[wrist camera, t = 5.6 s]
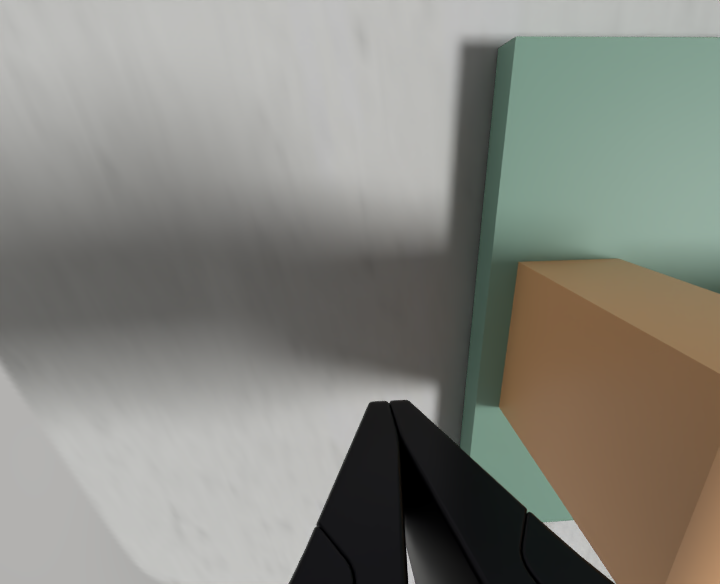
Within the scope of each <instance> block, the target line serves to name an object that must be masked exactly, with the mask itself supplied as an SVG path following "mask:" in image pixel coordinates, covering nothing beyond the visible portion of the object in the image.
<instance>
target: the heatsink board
mask: <svg viewBox="0 0 720 584" xmlns="http://www.w3.org/2000/svg"><path fill="white" fill-rule="evenodd" d="M588 259H621V260H624V261H627V262H630V263H633V264H636V265H638V266H641V267H644V268H647V269H650V270H653V271H656V272H659V273H661V274H664V275H667V276H670V277H673V278H676V279H679V280H681V281H684V282H687V283H690V284H693V285H696V286H699V287H701V288H704V289H707V290H710V291H713V292H716V293H719V294H720V37H515V38H513V39H512V40H510V41H509V42H507V43H506V44H504V45H503V46H501V47H500V48H498V56H497V66H496V77H495V87H494V98H493V108H492V118H491V129H490V139H489V149H488V160H487V170H486V181H485V191H484V201H483V212H482V222H481V232H480V243H479V253H478V264H477V274H476V284H475V295H474V305H473V315H472V326H471V336H470V347H469V357H468V367H467V378H466V388H465V398H464V409H463V419H462V430H461V440H460V448H461V449H462V450H463V451H465V452H466V453H467V454H468V455H469V456H470V457H471V458H472V459H473V460H474V461H475V462H477V463H478V464H479V465H480V466H481V467H482V468H483V469H484V470H485V471H486V472H488V473H489V474H490V475H491V476H492V477H493V478H494V479H495V480H496V481H497V482H498V483H500V484H501V485H502V486H503V487H504V488H505V489H506V490H507V491H508V492H509V493H510V494H512V495H513V496H514V497H515V498H516V499H517V500H518V501H519V502H520V503H521V504H523V505H524V506H525V507H526V508H527V513H528V512H531V513H533V514H534V515H535V516H536V517H537V518H538V519H539V520H540V521H541V522H554V521H568V520H574V519H573V518H572V516H571V515H570V513H569V512H568V510H567V509H566V507H565V506H564V504H563V503H562V501H561V500H560V498H559V497H558V495H557V494H556V492H555V491H554V489H553V488H552V486H551V485H550V483H549V482H548V480H547V479H546V477H545V476H544V474H543V473H542V471H541V470H540V468H539V467H538V465H537V464H536V462H535V461H534V459H533V458H532V456H531V455H530V453H529V452H528V450H527V449H526V447H525V446H524V444H523V443H522V441H521V440H520V438H519V437H518V435H517V434H516V432H515V431H514V429H513V428H512V426H511V425H510V423H509V422H508V420H507V419H506V417H505V416H504V414H503V413H502V411H501V410H500V408H499V402H500V395H501V388H502V380H503V373H504V365H505V358H506V351H507V343H508V336H509V328H510V321H511V314H512V306H513V299H514V291H515V284H516V277H517V269H518V262H527V261H558V260H588Z"/></svg>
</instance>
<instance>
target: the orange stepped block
mask: <svg viewBox="0 0 720 584" xmlns="http://www.w3.org/2000/svg"><path fill="white" fill-rule="evenodd" d="M499 408H500V410H501V411H502V413H503V414H504V416H505V417H506V419H507V420H508V422H509V423H510V425H511V426H512V428H513V429H514V431H515V432H516V434H517V435H518V437H519V438H520V440H521V441H522V443H523V444H524V446H525V447H526V449H527V450H528V452H529V453H530V455H531V456H532V458H533V459H534V461H535V462H536V464H537V465H538V467H539V468H540V470H541V471H542V473H543V474H544V476H545V477H546V479H547V480H548V482H549V483H550V485H551V486H552V488H553V489H554V491H555V492H556V494H557V495H558V497H559V498H560V500H561V501H562V503H563V504H564V506H565V507H566V509H567V510H568V512H569V513H570V515H571V516H572V518H573V519H574V521H575V522H576V524H577V525H578V527H579V528H580V530H581V531H582V533H583V534H584V536H585V537H586V539H587V540H588V542H589V543H590V545H591V546H592V548H593V549H594V551H595V552H596V554H597V555H598V557H599V558H600V560H601V561H602V563H603V564H604V566H605V567H606V569H607V570H608V572H609V573H610V575H611V576H612V578H613V579H614V581H615V582H616V584H720V294H719V293H716V292H713V291H710V290H707V289H704V288H701V287H699V286H696V285H693V284H690V283H687V282H684V281H681V280H679V279H676V278H673V277H670V276H667V275H664V274H661V273H659V272H656V271H653V270H650V269H647V268H644V267H641V266H638V265H636V264H633V263H630V262H627V261H624V260H621V259H588V260H558V261H527V262H518V269H517V277H516V284H515V291H514V299H513V306H512V314H511V321H510V328H509V336H508V343H507V351H506V358H505V365H504V373H503V380H502V388H501V395H500V402H499Z"/></svg>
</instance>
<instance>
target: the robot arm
mask: <svg viewBox="0 0 720 584" xmlns="http://www.w3.org/2000/svg"><path fill="white" fill-rule="evenodd" d="M406 547H407V551H408V555H409V559H410V563H411V567H412V571H413V576H414V580H415V584H614V583H613V582H612V581H611V580H610V579H608V578H607V577H606V576H605V575H603V574H602V573H601V572H600V571H598V570H597V569H596V568H595V567H593V566H592V565H591V564H590V563H589V562H587V561H586V560H585V559H584V558H582V557H581V556H580V555H579V554H578V553H577V552H575V551H574V550H573V549H572V548H571V547H570V546H569V545H567V544H566V543H565V542H564V541H563V540H562V539H561V538H559V537H558V536H557V535H556V534H555V533H554V532H552V531H551V530H550V529H549V528H548V527H547V526H546V525H545V524H544V523H543V522H541V521H540V520H539V519H538V518H537V517H536V516H535V515H534V514H533V513H531V512H528V513H527V508H526V507H525V506H524V505H523V504H521V503H520V502H519V501H518V500H517V499H516V498H515V497H514V496H513V495H512V494H510V493H509V492H508V491H507V490H506V489H505V488H504V487H503V486H502V485H501V484H500V483H498V482H497V481H496V480H495V479H494V478H493V477H492V476H491V475H490V474H489V473H488V472H486V471H485V470H484V469H483V468H482V467H481V466H480V465H479V464H478V463H477V462H475V461H474V460H473V459H472V458H471V457H470V456H469V455H468V454H467V453H466V452H465V451H463V450H462V449H461V448H460V447H459V446H458V445H457V444H456V443H455V442H454V441H452V440H451V439H450V438H449V437H448V436H447V435H446V434H445V433H444V432H443V431H442V430H440V429H439V428H438V427H437V426H436V425H435V424H434V423H433V422H432V421H431V420H429V419H428V418H427V417H426V416H425V415H424V414H423V413H422V412H421V411H420V410H419V409H417V408H416V407H415V406H414V405H413V404H412V403H411V402H410V401H408V400H395V401H390V403H388V402H387V401H375V402H370V403H369V404H368V407H367V409H366V411H365V413H364V416H363V418H362V420H361V423H360V425H359V427H358V430H357V432H356V434H355V437H354V439H353V441H352V443H351V446H350V448H349V450H348V453H347V455H346V457H345V460H344V462H343V464H342V466H341V469H340V471H339V473H338V476H337V478H336V480H335V483H334V485H333V487H332V490H331V492H330V494H329V496H328V499H327V501H326V503H325V506H324V508H323V510H322V513H321V515H320V517H319V519H318V522H317V527H315V528H314V530H313V533H312V535H311V537H310V540H309V542H308V544H307V546H306V549H305V551H304V553H303V555H302V557H301V559H300V561H299V563H298V566H297V568H296V570H295V572H294V574H293V576H292V578H291V580H290V582H289V584H408V571H407V554H406Z"/></svg>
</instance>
